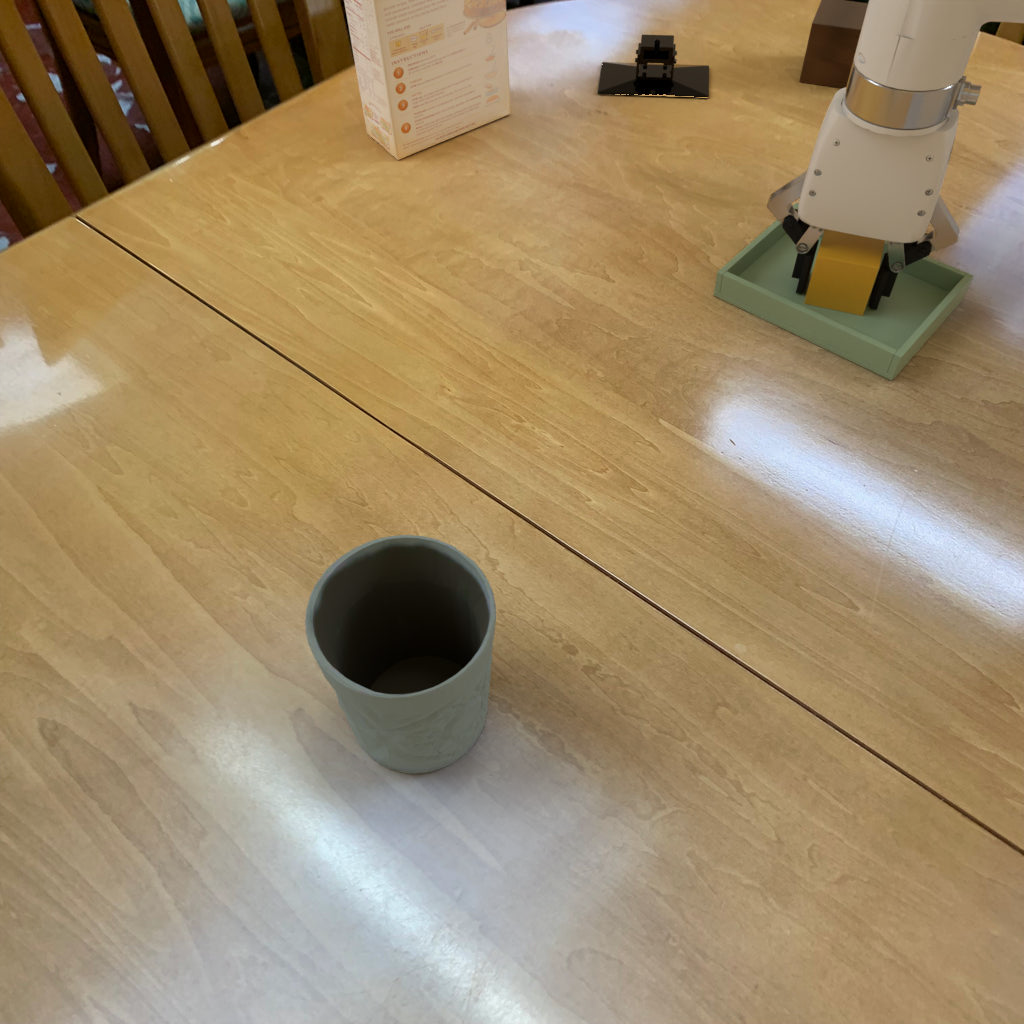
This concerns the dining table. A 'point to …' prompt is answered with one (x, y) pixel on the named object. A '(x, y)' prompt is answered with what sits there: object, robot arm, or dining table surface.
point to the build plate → (654, 72)
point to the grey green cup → (406, 648)
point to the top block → (844, 272)
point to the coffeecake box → (429, 68)
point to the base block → (833, 42)
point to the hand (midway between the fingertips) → (838, 290)
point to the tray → (860, 339)
